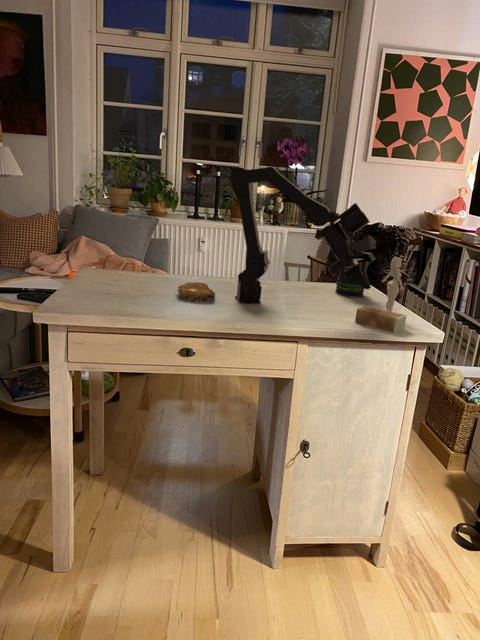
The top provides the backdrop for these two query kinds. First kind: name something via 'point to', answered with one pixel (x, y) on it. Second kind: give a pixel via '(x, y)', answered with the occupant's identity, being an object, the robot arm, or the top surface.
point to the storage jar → (348, 285)
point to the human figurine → (393, 282)
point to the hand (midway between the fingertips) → (368, 288)
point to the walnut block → (380, 319)
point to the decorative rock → (195, 292)
